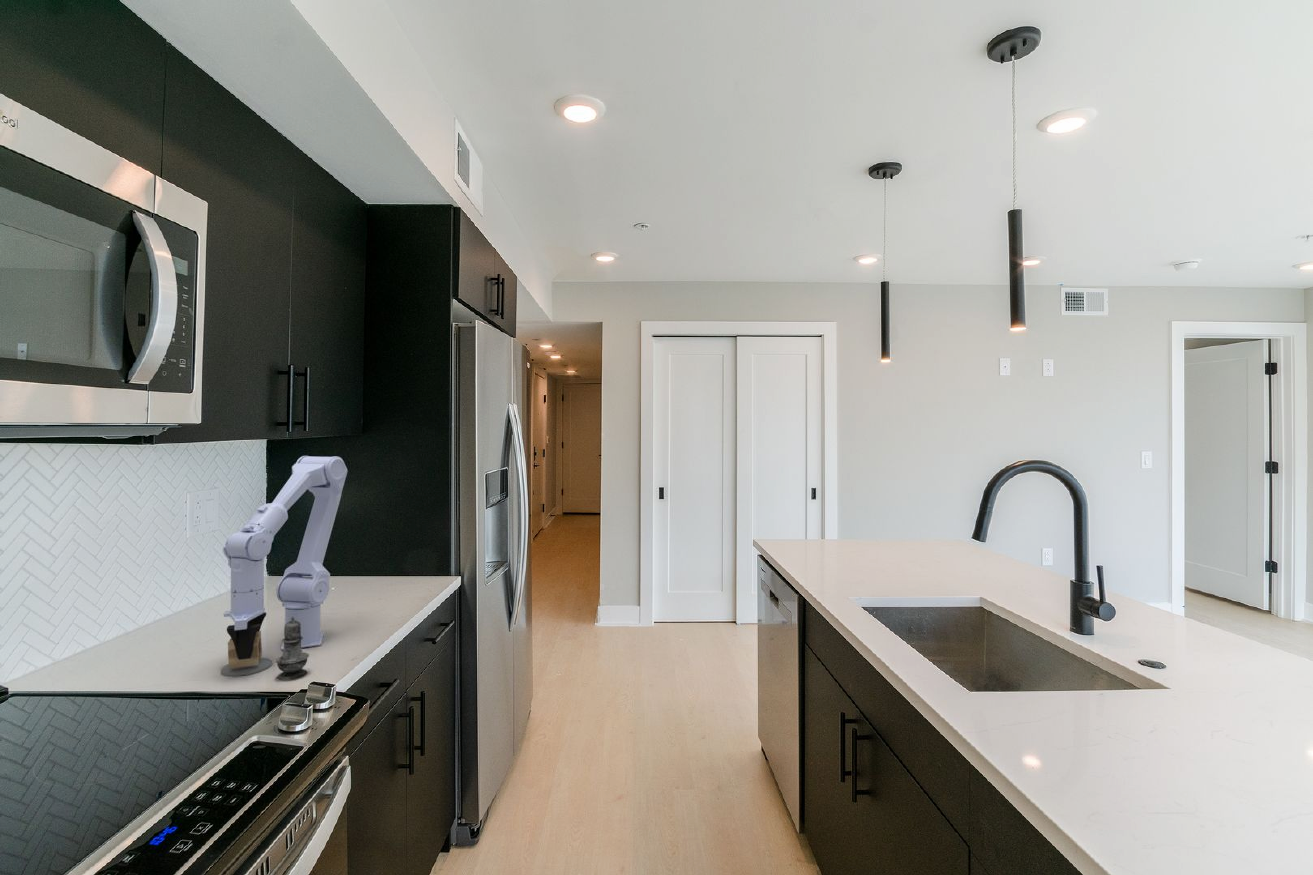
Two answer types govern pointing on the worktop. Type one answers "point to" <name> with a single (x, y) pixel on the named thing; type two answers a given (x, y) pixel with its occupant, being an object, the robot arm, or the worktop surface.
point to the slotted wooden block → (237, 663)
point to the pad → (247, 668)
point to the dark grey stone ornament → (292, 653)
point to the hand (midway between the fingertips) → (247, 653)
